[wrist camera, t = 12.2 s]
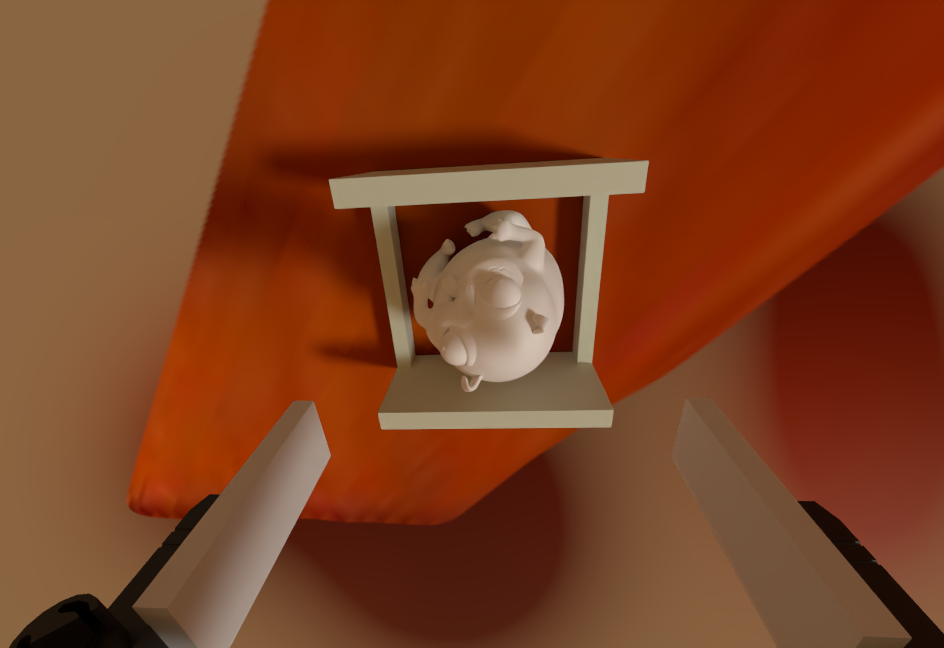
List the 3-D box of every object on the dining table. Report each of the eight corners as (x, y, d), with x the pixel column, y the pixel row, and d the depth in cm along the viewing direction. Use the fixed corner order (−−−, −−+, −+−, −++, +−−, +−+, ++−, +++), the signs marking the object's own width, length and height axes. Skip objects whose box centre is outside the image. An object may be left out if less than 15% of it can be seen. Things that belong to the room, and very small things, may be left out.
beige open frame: (373, 171, 26) (328, 179, 19) (603, 157, 25) (648, 160, 18) (405, 369, 34) (381, 429, 26) (584, 365, 32) (611, 427, 25)
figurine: (578, 292, 30) (628, 373, 19) (481, 351, 32) (476, 451, 22) (511, 187, 26) (525, 213, 16) (410, 262, 29) (362, 328, 18)
